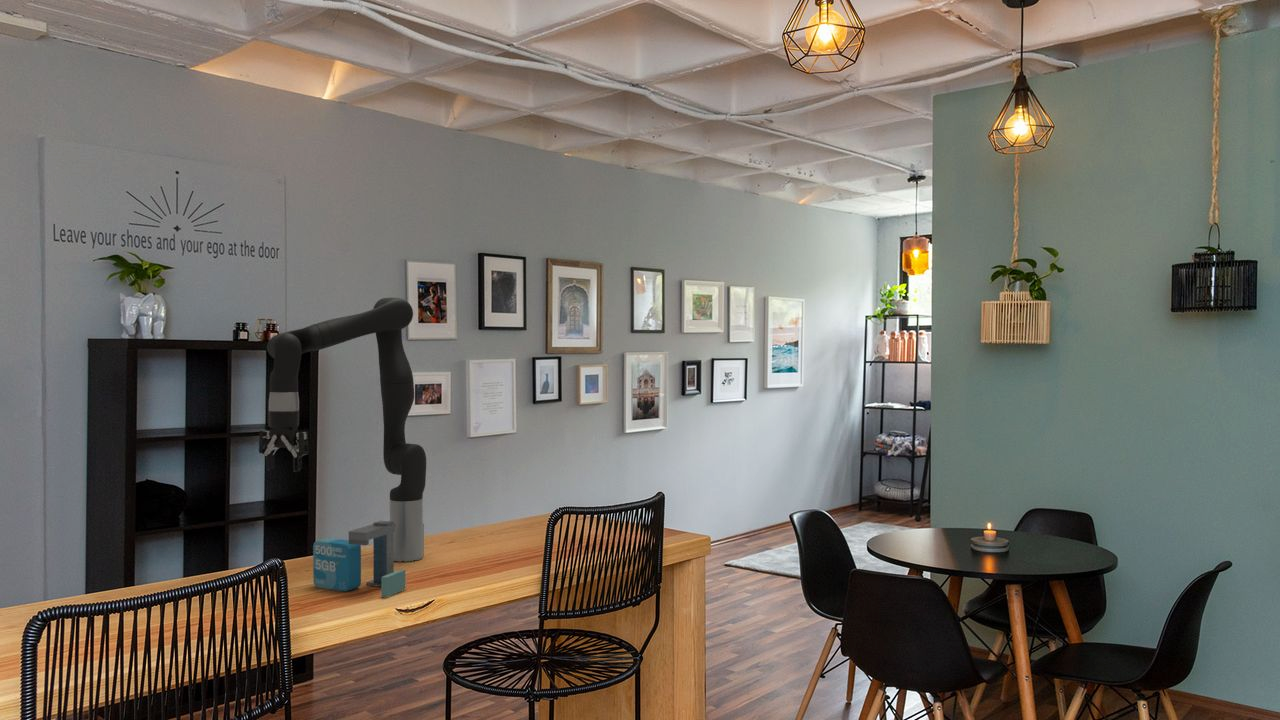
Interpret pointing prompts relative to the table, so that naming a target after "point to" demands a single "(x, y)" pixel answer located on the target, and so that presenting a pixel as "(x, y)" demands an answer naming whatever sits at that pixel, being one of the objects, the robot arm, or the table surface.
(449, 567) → the table surface
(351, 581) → the data package
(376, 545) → the lug bracket
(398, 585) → the end catch
